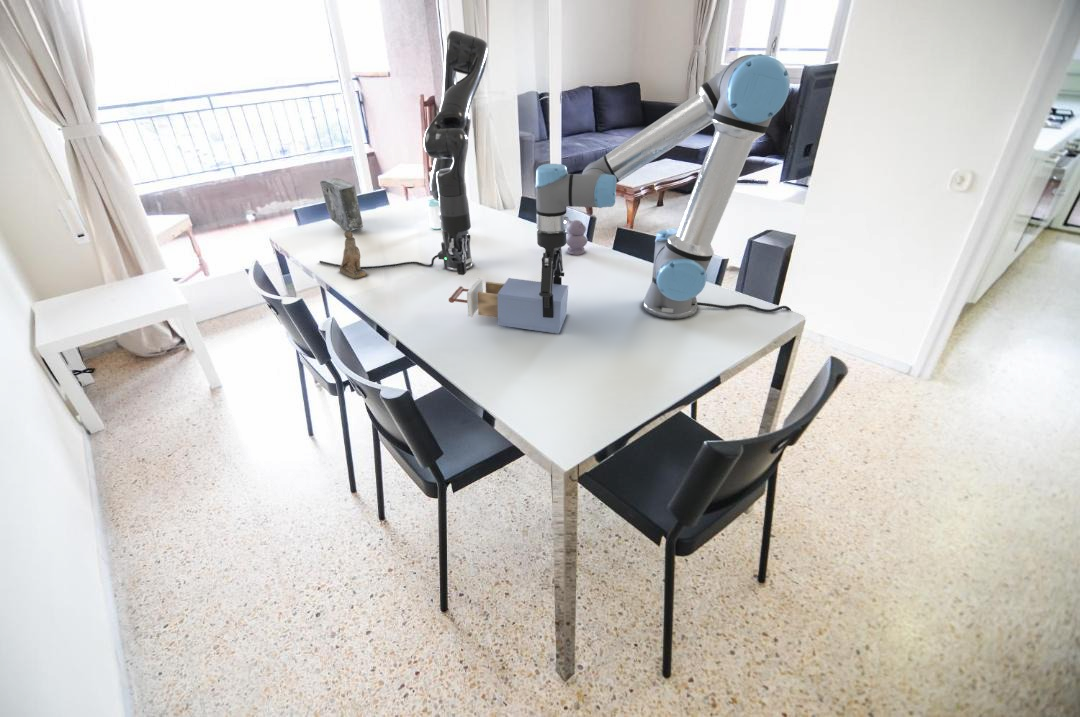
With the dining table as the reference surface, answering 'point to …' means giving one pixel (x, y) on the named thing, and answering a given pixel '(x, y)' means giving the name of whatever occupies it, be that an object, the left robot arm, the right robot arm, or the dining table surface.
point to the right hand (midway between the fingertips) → (552, 307)
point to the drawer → (480, 298)
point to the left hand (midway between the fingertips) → (462, 273)
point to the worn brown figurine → (351, 258)
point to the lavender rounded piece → (576, 237)
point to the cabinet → (530, 306)
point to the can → (434, 214)
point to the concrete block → (342, 203)
